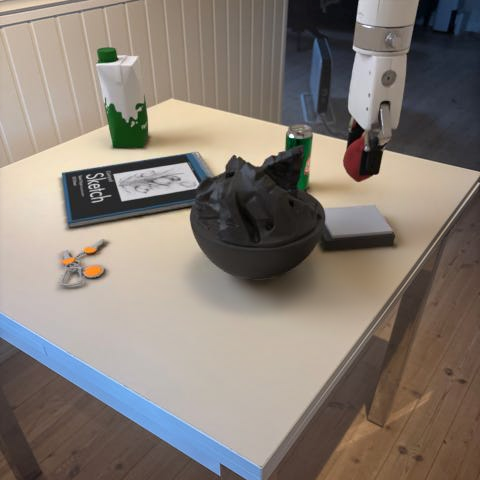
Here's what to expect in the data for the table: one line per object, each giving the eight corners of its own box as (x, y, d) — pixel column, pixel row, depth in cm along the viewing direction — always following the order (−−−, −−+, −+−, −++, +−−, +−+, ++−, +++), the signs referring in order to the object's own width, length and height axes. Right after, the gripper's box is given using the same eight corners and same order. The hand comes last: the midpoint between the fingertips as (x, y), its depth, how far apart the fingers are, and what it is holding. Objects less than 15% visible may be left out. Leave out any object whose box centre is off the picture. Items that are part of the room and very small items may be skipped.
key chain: (101, 284, 75) (100, 280, 75) (53, 288, 75) (51, 284, 74) (108, 240, 85) (107, 236, 84) (65, 243, 84) (64, 239, 83)
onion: (384, 184, 79) (394, 135, 73) (356, 193, 77) (364, 143, 71) (360, 170, 82) (368, 123, 77) (333, 178, 80) (339, 130, 75)
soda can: (309, 193, 97) (314, 133, 89) (283, 193, 97) (286, 133, 89) (307, 182, 101) (312, 123, 93) (282, 182, 101) (285, 123, 93)
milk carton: (117, 135, 121) (100, 44, 107) (153, 135, 120) (141, 44, 107) (108, 149, 114) (89, 54, 101) (146, 149, 114) (133, 54, 100)
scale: (373, 215, 90) (376, 203, 88) (393, 245, 83) (396, 232, 81) (308, 220, 89) (309, 207, 87) (322, 251, 82) (324, 237, 80)
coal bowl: (191, 309, 71) (179, 190, 58) (197, 235, 86) (188, 127, 73) (328, 306, 71) (345, 186, 59) (310, 232, 86) (321, 125, 73)
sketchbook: (62, 178, 103) (60, 169, 102) (199, 158, 110) (199, 149, 109) (69, 228, 88) (66, 218, 87) (228, 201, 95) (227, 191, 93)
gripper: (436, 52, 60) (404, 188, 72) (386, 23, 72) (367, 142, 84) (376, 55, 59) (354, 192, 71) (337, 25, 72) (324, 145, 84)
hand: (361, 164), depth 78 cm, fingers closed on onion, 5 cm apart
